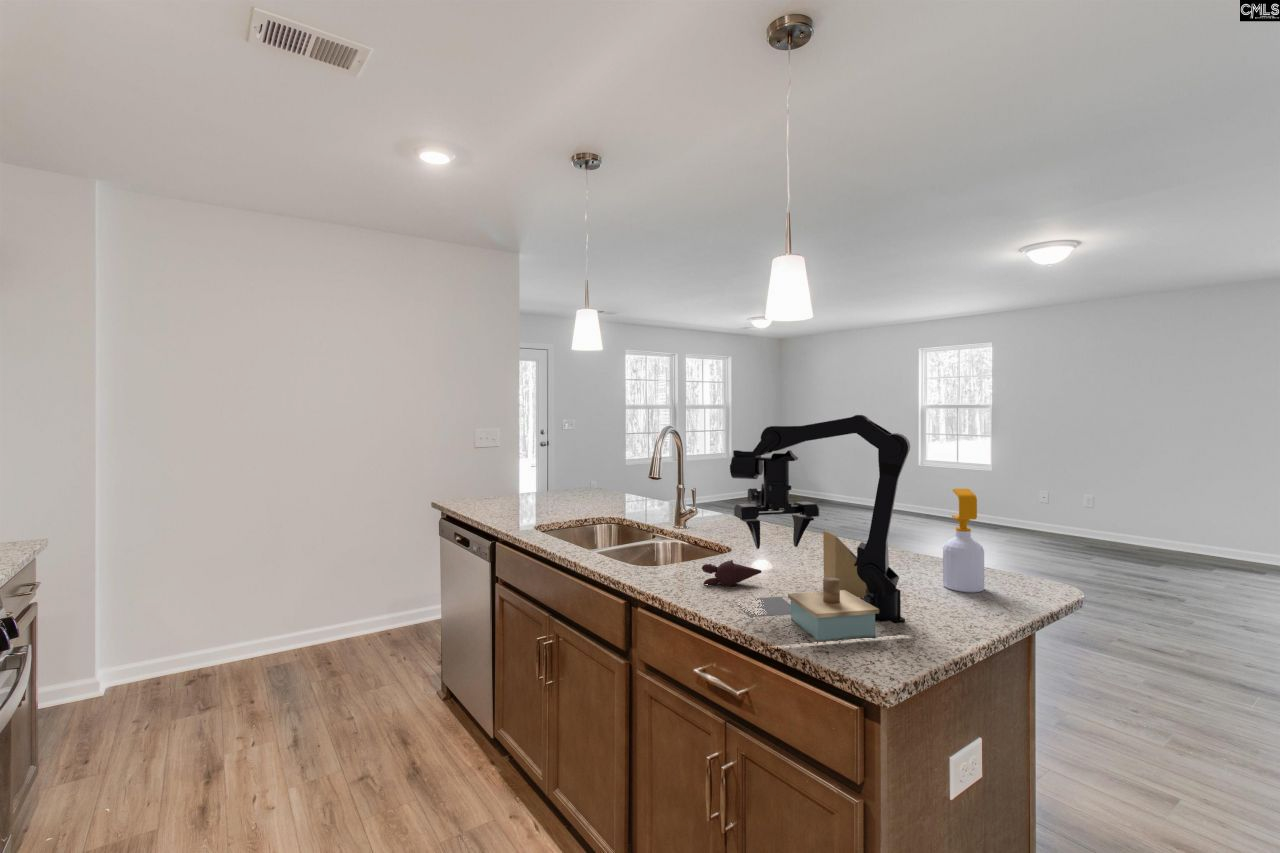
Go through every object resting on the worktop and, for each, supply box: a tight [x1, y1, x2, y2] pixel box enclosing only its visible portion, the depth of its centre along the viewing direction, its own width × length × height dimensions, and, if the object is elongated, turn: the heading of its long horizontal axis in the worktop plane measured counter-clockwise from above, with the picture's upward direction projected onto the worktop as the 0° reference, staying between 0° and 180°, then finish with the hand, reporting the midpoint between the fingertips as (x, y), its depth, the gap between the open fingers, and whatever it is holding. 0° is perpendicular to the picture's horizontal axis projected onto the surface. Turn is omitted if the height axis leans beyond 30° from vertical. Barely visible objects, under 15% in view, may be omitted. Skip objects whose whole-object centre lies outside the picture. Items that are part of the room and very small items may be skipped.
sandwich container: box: [822, 529, 867, 597], centre depth 146 cm, size 9×15×15 cm, turn 92°
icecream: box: [701, 559, 762, 587], centre depth 152 cm, size 7×7×15 cm
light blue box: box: [790, 600, 876, 641], centre depth 121 cm, size 12×12×5 cm
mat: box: [737, 596, 791, 618], centre depth 134 cm, size 12×12×1 cm
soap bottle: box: [942, 488, 985, 594], centre depth 148 cm, size 9×9×25 cm
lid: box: [787, 577, 879, 618], centre depth 121 cm, size 13×13×5 cm
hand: (776, 547), depth 138 cm, fingers open, 9 cm apart
